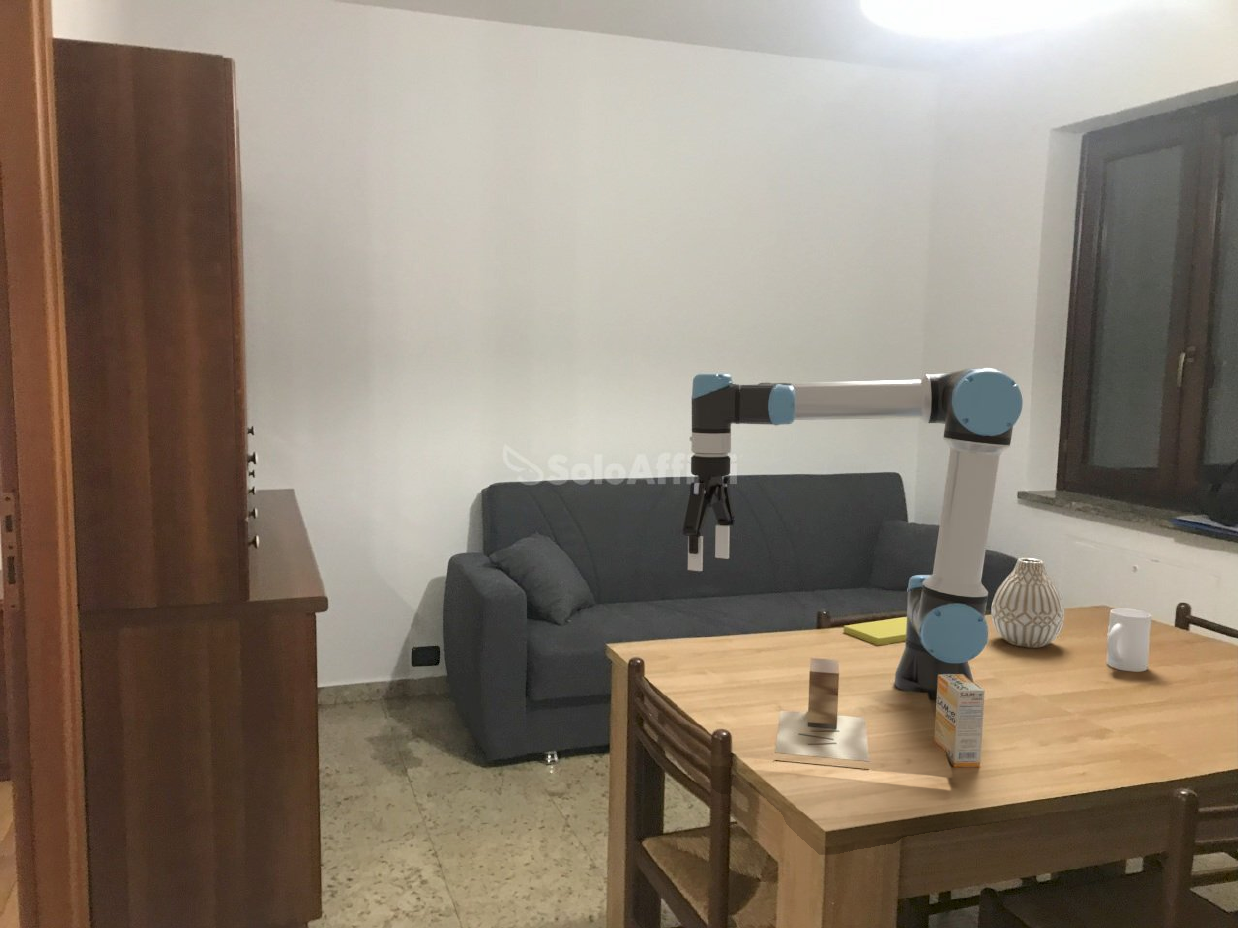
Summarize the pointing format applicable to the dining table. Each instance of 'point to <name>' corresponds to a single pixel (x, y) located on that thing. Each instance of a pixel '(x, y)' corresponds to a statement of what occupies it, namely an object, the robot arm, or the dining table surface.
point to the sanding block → (823, 693)
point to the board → (822, 738)
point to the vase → (1028, 606)
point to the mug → (1128, 639)
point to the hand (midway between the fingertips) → (709, 564)
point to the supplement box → (959, 719)
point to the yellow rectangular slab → (880, 631)
